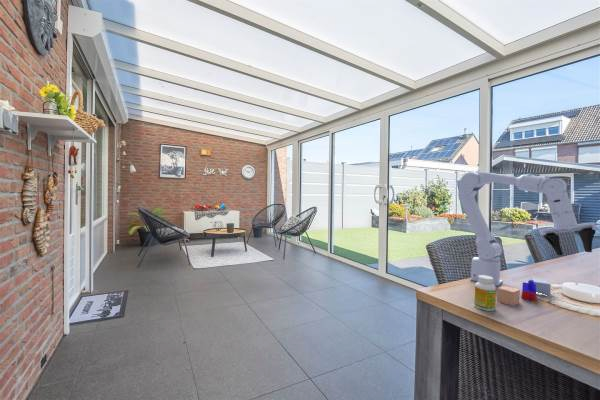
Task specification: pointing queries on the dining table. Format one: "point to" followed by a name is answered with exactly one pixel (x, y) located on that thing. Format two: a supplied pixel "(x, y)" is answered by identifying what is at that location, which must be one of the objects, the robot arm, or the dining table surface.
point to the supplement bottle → (485, 293)
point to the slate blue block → (542, 286)
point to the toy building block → (529, 290)
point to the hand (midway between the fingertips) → (574, 253)
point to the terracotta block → (508, 295)
